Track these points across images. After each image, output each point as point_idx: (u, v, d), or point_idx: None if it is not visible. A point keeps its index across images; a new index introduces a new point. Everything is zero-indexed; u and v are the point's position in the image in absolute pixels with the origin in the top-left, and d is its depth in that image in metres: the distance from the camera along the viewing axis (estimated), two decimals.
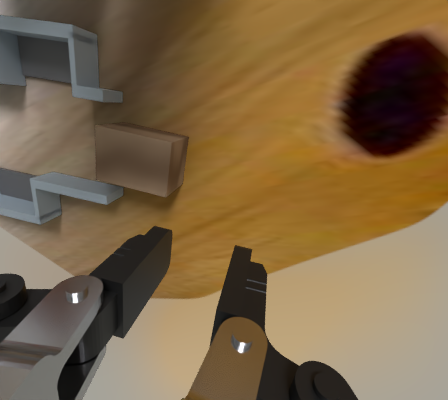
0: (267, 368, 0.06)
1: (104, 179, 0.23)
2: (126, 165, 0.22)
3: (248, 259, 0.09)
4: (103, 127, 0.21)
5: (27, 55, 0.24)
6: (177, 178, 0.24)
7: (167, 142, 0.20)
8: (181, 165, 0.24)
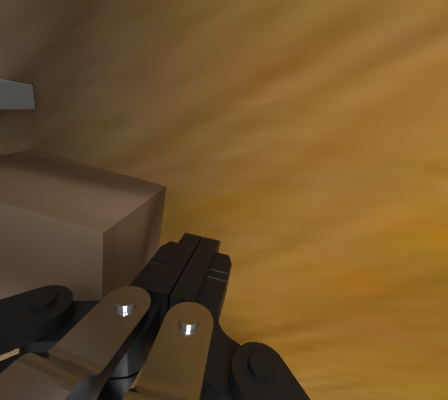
0: (212, 349, 0.06)
1: None
2: None
3: (213, 250, 0.09)
4: None
5: None
6: None
7: (91, 231, 0.07)
8: (147, 250, 0.11)
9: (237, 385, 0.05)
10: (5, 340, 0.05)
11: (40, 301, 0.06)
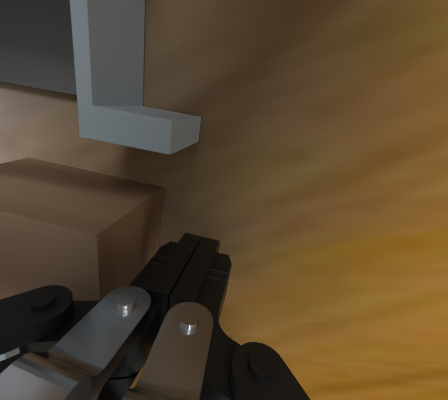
0: (212, 350, 0.06)
1: None
2: None
3: (213, 250, 0.09)
4: None
5: None
6: None
7: (85, 233, 0.07)
8: (146, 253, 0.11)
9: (237, 385, 0.05)
10: (5, 340, 0.05)
11: (40, 301, 0.06)
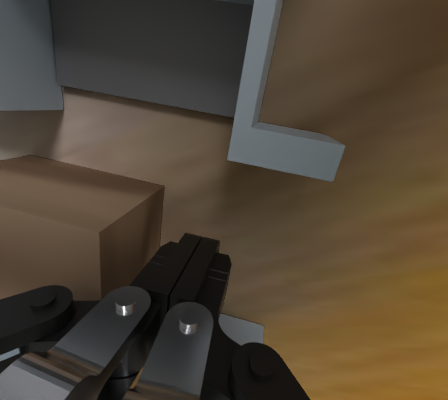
0: (212, 350, 0.06)
1: None
2: None
3: (213, 250, 0.09)
4: None
5: (72, 34, 0.09)
6: None
7: (88, 231, 0.07)
8: (147, 251, 0.11)
9: (237, 385, 0.05)
10: (5, 340, 0.05)
11: (40, 301, 0.06)
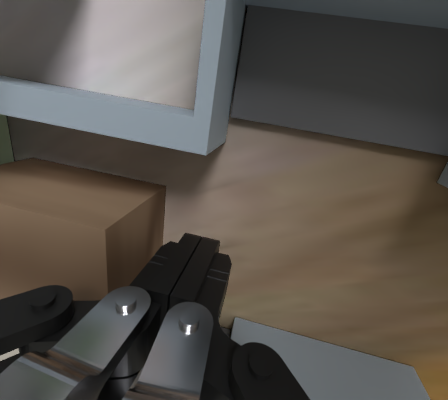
0: (212, 350, 0.06)
1: None
2: (8, 275, 0.09)
3: (213, 250, 0.09)
4: None
5: (263, 64, 0.08)
6: None
7: (94, 228, 0.07)
8: (151, 249, 0.11)
9: (237, 385, 0.05)
10: (5, 340, 0.05)
11: (40, 301, 0.06)
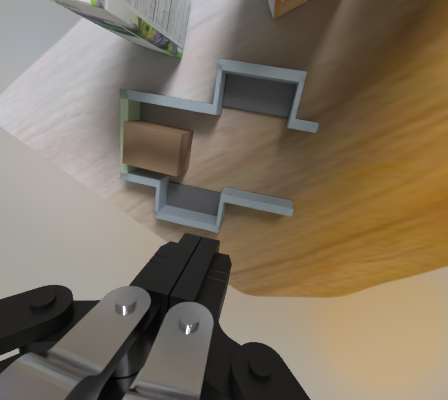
0: (212, 349, 0.06)
1: (128, 163, 0.30)
2: (146, 152, 0.29)
3: (213, 250, 0.09)
4: (130, 122, 0.28)
5: (232, 90, 0.28)
6: (184, 163, 0.31)
7: (178, 134, 0.27)
8: (187, 153, 0.31)
9: (237, 385, 0.05)
10: (5, 340, 0.05)
11: (40, 301, 0.06)
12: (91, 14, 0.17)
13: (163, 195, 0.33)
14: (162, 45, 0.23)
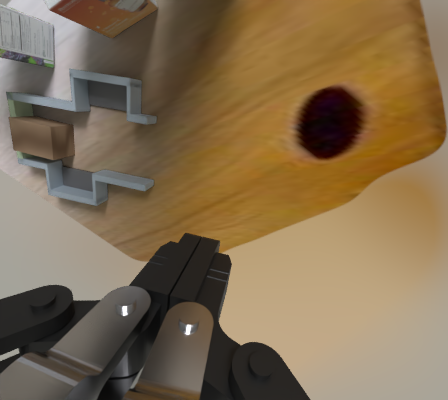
0: (212, 350, 0.06)
1: (18, 149, 0.38)
2: (29, 141, 0.37)
3: (213, 250, 0.09)
4: (13, 118, 0.36)
5: (93, 92, 0.36)
6: (66, 150, 0.39)
7: (48, 126, 0.35)
8: (68, 142, 0.39)
9: (237, 385, 0.05)
10: (4, 341, 0.05)
11: (40, 301, 0.06)
12: None
13: (56, 176, 0.42)
14: (19, 60, 0.31)
